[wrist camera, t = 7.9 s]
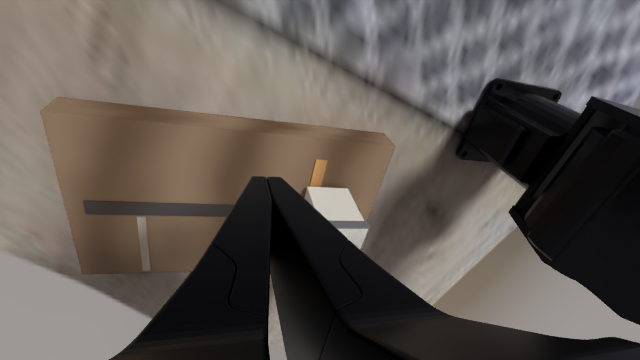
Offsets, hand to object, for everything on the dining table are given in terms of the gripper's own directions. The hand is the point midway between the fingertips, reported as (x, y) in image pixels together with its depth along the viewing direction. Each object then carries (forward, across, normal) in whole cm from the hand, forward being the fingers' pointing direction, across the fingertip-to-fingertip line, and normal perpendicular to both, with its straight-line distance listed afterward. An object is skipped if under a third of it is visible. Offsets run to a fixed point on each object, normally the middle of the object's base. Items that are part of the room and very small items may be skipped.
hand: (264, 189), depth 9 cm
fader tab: (+10, -6, +9) cm, 15 cm away
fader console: (+12, 0, +9) cm, 15 cm away
